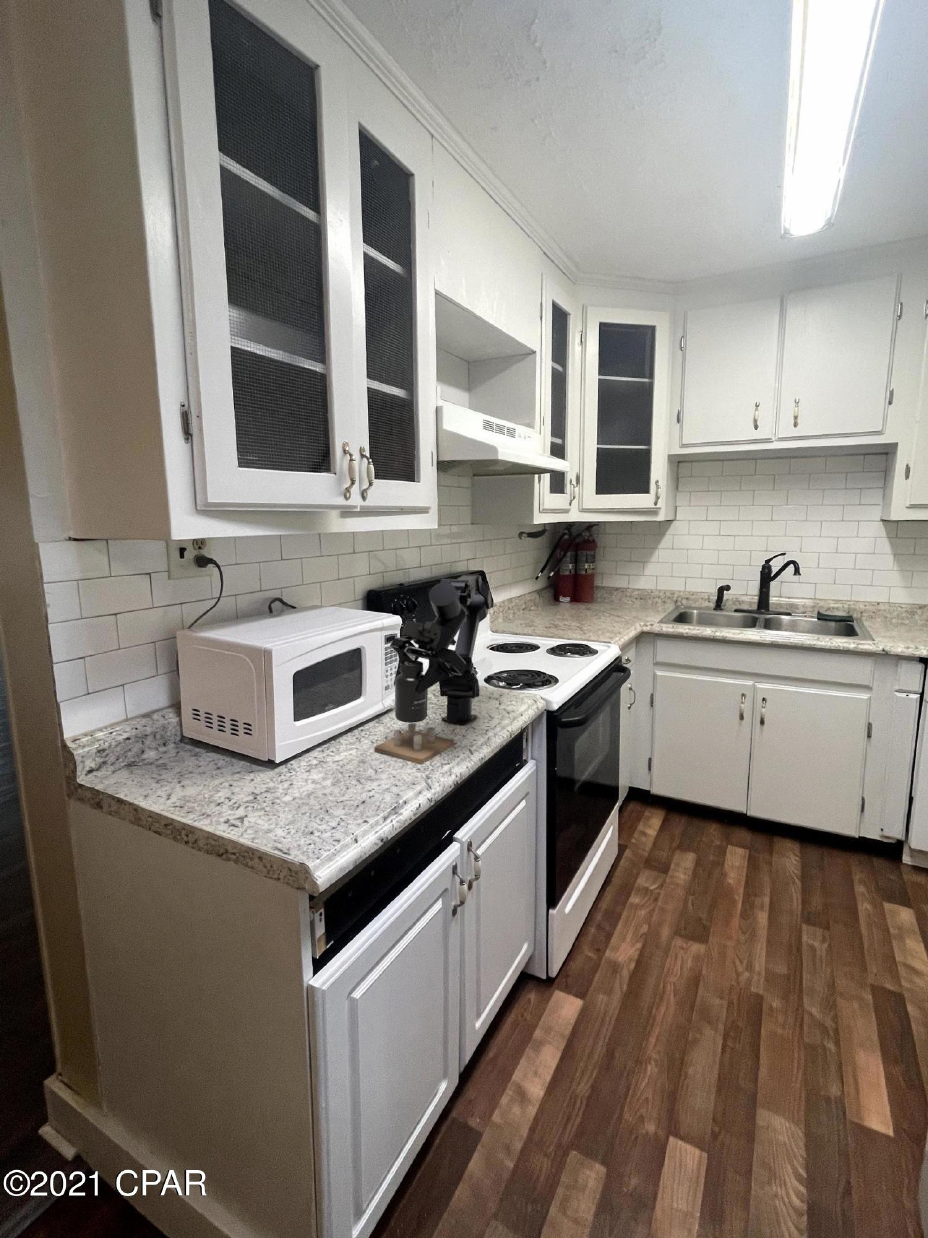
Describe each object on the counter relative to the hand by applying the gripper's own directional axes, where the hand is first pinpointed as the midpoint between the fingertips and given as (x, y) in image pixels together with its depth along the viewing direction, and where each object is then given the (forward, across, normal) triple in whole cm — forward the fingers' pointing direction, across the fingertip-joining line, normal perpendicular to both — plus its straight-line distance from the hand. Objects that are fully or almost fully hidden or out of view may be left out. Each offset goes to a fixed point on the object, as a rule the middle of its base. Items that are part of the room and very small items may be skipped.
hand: (406, 688), depth 122 cm
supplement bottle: (+4, 0, +6) cm, 7 cm away
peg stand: (+8, +1, +10) cm, 13 cm away
